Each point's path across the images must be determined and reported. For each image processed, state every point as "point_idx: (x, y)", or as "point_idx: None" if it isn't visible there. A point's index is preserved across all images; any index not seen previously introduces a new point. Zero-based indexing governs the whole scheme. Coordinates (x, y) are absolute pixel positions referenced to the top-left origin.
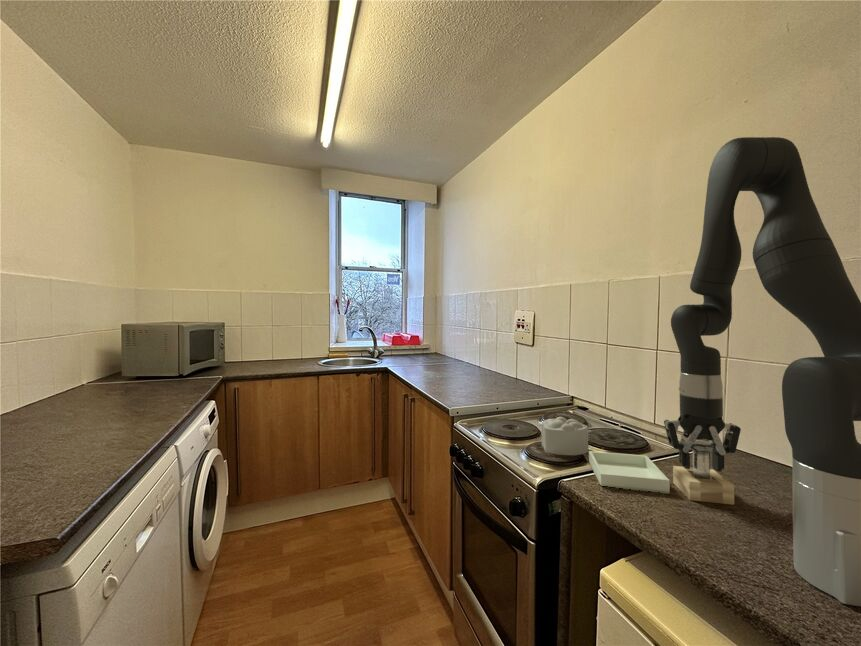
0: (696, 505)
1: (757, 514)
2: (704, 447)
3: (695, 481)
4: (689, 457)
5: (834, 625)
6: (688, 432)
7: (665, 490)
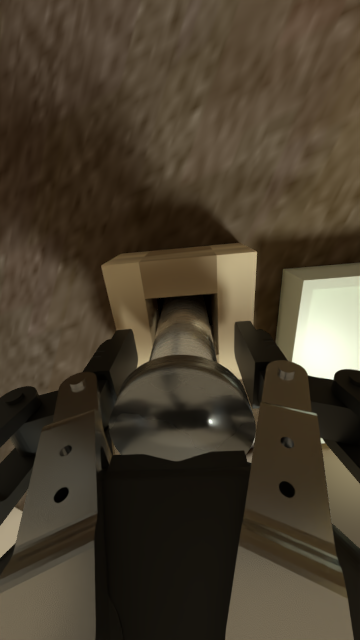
0: (234, 209)
1: (76, 208)
2: (187, 376)
3: (231, 260)
4: (249, 348)
5: None
6: (339, 531)
7: (299, 269)
